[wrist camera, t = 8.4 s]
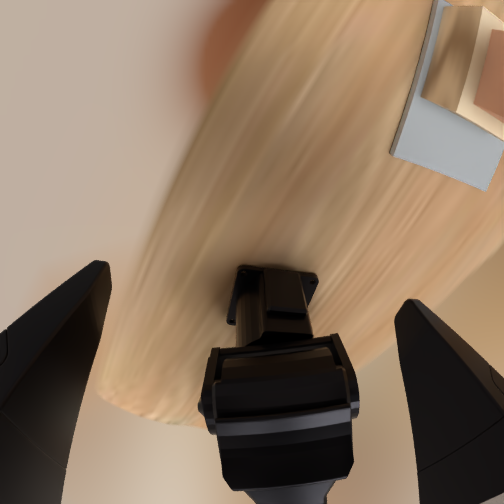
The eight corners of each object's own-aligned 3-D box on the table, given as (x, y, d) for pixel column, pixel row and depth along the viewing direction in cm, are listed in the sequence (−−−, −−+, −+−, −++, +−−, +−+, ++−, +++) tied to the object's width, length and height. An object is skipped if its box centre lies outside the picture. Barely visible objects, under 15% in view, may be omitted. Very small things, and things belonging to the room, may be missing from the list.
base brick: (488, 133, 17) (522, 153, 14) (420, 96, 16) (456, 112, 13) (510, 54, 13) (548, 65, 10) (443, 6, 12) (482, 5, 9)
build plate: (481, 188, 20) (485, 191, 20) (389, 153, 19) (393, 156, 18) (524, 63, 13) (529, 65, 13) (434, -3, 12) (439, -3, 11)
